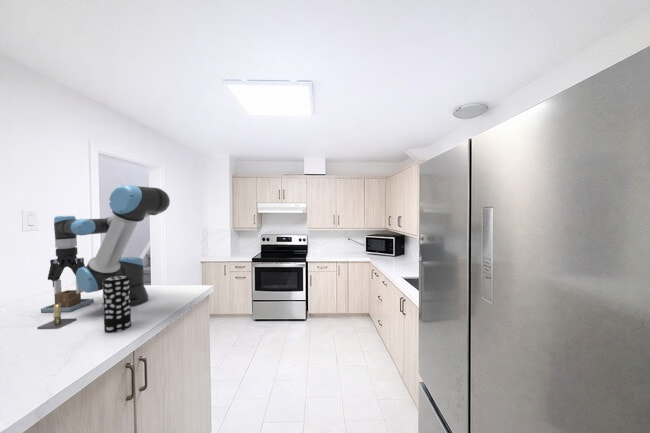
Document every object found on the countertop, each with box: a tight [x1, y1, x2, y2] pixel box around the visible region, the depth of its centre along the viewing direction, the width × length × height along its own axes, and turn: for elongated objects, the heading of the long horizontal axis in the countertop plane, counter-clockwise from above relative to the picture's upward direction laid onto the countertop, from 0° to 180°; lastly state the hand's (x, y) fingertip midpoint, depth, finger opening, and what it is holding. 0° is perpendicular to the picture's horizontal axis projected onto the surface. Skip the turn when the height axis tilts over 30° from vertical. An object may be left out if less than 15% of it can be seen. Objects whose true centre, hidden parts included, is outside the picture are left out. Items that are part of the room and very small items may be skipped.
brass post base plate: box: [37, 303, 77, 330], centre depth 108 cm, size 8×8×8 cm
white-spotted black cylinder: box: [102, 275, 132, 334], centre depth 104 cm, size 8×8×20 cm
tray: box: [40, 298, 95, 314], centre depth 127 cm, size 13×13×2 cm
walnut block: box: [54, 289, 82, 308], centre depth 127 cm, size 6×6×7 cm
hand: (69, 293), depth 127 cm, fingers open, 10 cm apart
